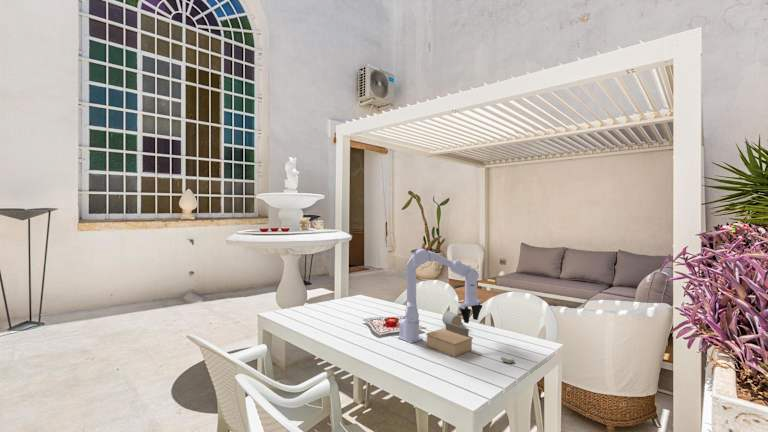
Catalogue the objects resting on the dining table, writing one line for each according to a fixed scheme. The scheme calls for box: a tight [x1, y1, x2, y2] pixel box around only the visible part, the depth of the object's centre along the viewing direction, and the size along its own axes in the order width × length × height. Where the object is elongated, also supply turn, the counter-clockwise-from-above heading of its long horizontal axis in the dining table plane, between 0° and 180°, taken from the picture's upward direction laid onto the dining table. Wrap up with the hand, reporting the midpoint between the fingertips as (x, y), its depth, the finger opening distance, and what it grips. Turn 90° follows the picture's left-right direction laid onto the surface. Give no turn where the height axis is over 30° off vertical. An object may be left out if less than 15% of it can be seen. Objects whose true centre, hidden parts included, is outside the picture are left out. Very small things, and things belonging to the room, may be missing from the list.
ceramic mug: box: [441, 310, 464, 327], centre depth 194 cm, size 11×8×8 cm
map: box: [500, 356, 515, 364], centre depth 156 cm, size 5×20×1 cm, turn 169°
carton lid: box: [425, 323, 474, 345], centre depth 162 cm, size 17×13×4 cm
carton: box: [426, 335, 473, 358], centre depth 162 cm, size 16×12×5 cm
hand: (470, 321), depth 172 cm, fingers open, 7 cm apart
